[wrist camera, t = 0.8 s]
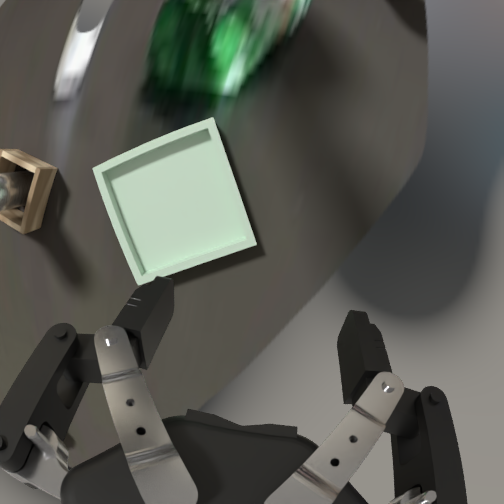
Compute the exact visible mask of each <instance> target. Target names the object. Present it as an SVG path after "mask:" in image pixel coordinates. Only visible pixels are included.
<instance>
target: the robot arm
mask: <svg viewBox="0 0 504 504" xmlns="http://www.w3.org/2000/svg"><path fill="white" fill-rule="evenodd" d="M173 312H174V281H173V279H171V278H166V277H161V276H156V277H155V279H154V280H153V282H152V283H151V285H146V284H144V285H142V286H141V287H139V288H138V289H136V290H135V292H134V293H133V294H132V296H131V298H130V299H129V300H128V302H127V304H126V305H125V306H124V307H123V309H122V310H121V312H120V313H119V315H118V316H117V318H116V319H115V321H114V322H113V324H112V325H110V326H105V327H102V328H101V329H99V330H98V331H97V332H96V334H77V333H76V330H75V328H74V327H73V326H72V325H70V324H67V323H60V324H56V325H54V326H53V327H51V328H50V329H49V330H48V332H47V333H46V334H45V336H44V337H43V339H42V340H41V342H40V343H39V344H38V346H37V347H36V349H35V350H34V352H33V353H32V355H31V356H30V358H29V359H28V361H27V362H26V364H25V366H24V367H23V369H22V370H21V372H20V373H19V375H18V377H17V378H16V380H15V382H14V383H13V385H12V386H11V388H10V390H9V392H8V393H7V395H6V397H5V398H4V400H3V402H2V404H1V405H0V467H1V468H2V469H3V470H4V471H6V472H7V473H9V474H10V475H11V476H13V477H14V478H15V479H17V480H18V481H20V482H23V483H24V484H26V485H27V486H29V487H31V488H35V489H41V490H43V491H45V492H47V493H49V494H51V495H53V496H54V497H57V498H59V499H60V500H61V503H62V504H368V503H367V502H366V500H365V499H364V498H363V497H362V496H361V495H360V494H359V493H358V491H357V490H356V489H355V488H354V487H353V486H352V485H351V483H350V482H349V479H350V478H351V477H352V475H353V474H354V473H355V472H356V470H357V469H358V468H359V466H360V465H361V463H362V462H363V460H364V459H365V458H366V456H367V455H368V453H369V452H370V450H371V449H372V447H373V446H374V445H375V443H376V441H377V440H378V438H379V437H380V435H381V434H382V432H387V433H390V434H391V444H392V455H393V470H394V488H395V489H394V490H395V498H394V499H393V500H392V501H390V503H389V504H467V496H466V488H465V481H464V474H463V469H462V462H461V457H460V452H459V447H458V442H457V438H456V433H455V429H454V424H453V420H452V417H451V412H450V409H449V405H448V401H447V398H446V396H445V394H444V393H443V392H442V391H441V390H440V389H439V388H437V387H434V386H428V387H425V388H424V389H423V390H422V391H421V393H420V392H417V391H414V390H411V389H408V388H405V387H404V384H403V382H402V380H401V379H400V378H399V377H398V376H397V375H395V374H393V373H392V370H391V366H390V363H389V359H388V355H387V352H386V349H385V345H384V342H383V338H382V335H381V332H380V331H379V329H378V328H377V327H376V325H375V324H370V322H369V319H368V315H367V313H366V312H361V311H354V310H350V311H349V312H348V315H347V317H346V319H345V322H344V324H343V326H342V329H341V331H340V334H339V336H338V341H337V349H338V356H339V364H340V373H341V382H342V391H343V400H344V404H352V406H353V407H352V409H351V410H350V411H349V412H348V413H347V415H346V416H345V417H344V418H343V420H342V421H341V422H340V423H339V424H338V426H337V427H336V428H335V429H334V431H333V432H332V433H331V434H330V435H329V436H328V438H327V439H326V440H325V441H324V442H323V443H322V444H321V445H320V446H318V445H316V444H315V443H314V442H312V441H311V440H309V439H307V438H306V437H303V436H301V435H298V434H297V427H295V426H285V425H276V424H264V425H250V426H241V425H238V424H235V423H233V422H231V421H228V420H226V419H223V418H221V417H219V416H216V415H214V414H209V413H204V412H200V411H195V410H191V409H188V410H187V413H186V416H173V417H168V418H165V419H162V420H161V418H160V416H159V414H158V411H157V409H156V407H155V404H154V402H153V400H152V397H151V395H150V392H149V390H148V387H147V385H146V382H145V380H144V377H143V374H142V372H141V370H139V368H142V369H146V370H147V369H148V367H149V365H150V363H151V361H152V358H153V356H154V354H155V352H156V350H157V348H158V346H159V343H160V341H161V339H162V337H163V335H164V333H165V331H166V329H167V327H168V325H169V323H170V320H171V318H172V316H173ZM89 383H102V384H103V387H104V391H105V395H106V398H107V402H108V405H109V409H110V412H111V415H112V418H113V422H114V425H115V428H116V431H117V434H118V437H119V440H120V442H121V443H119V444H117V445H115V446H114V447H112V448H110V449H108V450H106V451H104V452H102V453H101V454H99V455H97V456H95V457H93V458H91V459H89V460H87V461H85V462H83V463H81V464H79V465H77V466H75V467H73V468H72V469H71V470H70V471H69V470H68V467H67V461H68V450H67V447H66V446H65V444H64V443H63V440H64V438H65V436H66V433H67V431H68V429H69V426H70V424H71V422H72V420H73V417H74V415H75V413H76V411H77V408H78V406H79V404H80V402H81V400H82V398H83V396H84V393H85V391H86V389H87V387H88V385H89Z"/></svg>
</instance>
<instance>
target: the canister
mask: <svg viewBox="0 0 504 504" xmlns="http://www.w3.org/2000/svg"><path fill="white" fill-rule="evenodd" d="M33 177H34V173H33V172H31V171H21V172H9V173H0V212H1V211H5V210H9V209H12V208H16V207H20V206H24V205H26V202H27V198H28V194H29V191H30V187H31V184H32V180H33Z"/></svg>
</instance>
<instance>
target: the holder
mask: <svg viewBox="0 0 504 504" xmlns="http://www.w3.org/2000/svg"><path fill="white" fill-rule="evenodd" d="M16 164H18V165H19V166H21V167H23V168H25V169H27V170H29V171H31V172H33V173H34V177H33V180H32V184H31V187H30V191H29V194H28V198H27V202H26V206H25V210H24V212H22V211H20V210H19V209H17V208H12V209H9V210H5V211H1V212H0V220H2V221H3V222H5V223H6V224H8V225H9V226H11V227H12V228H14V229H16V230H17V231H19V232H20V233H22V234H26V233H29V232H31V231H34V230H36V229H39V228H41V224H42V220H43V216H44V212H45V208H46V205H47V201H48V198H49V194H50V191H51V188H52V184H53V181H54V178H55V175H56V172H57V169H58V168H56V167H54V166H52V165H49V164H47V163H45V162H43V161H41V160H39V159H37V158H35V157H33V156H31V155H28V154H26V153H24V152H22V151H20V150H18V149H0V173H9V172H14V171H15V167H16Z"/></svg>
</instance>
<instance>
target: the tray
mask: <svg viewBox="0 0 504 504" xmlns="http://www.w3.org/2000/svg"><path fill="white" fill-rule="evenodd" d="M93 171H94V174H95V177H96V181H97V183H98V186H99V189H100V192H101V195H102V198H103V201H104V204H105V206H106V209H107V212H108V214H109V217H110V220H111V222H112V225H113V228H114V230H115V233H116V235H117V238H118V240H119V243H120V245H121V247H122V250H123V252H124V255H125V257H126V259H127V262H128V264H129V266H130V269H131V271H132V273H133V275H134V277H135V280H136V282H137V284H138V285H141V284H144V283H147V282H150V281H153V280H154V279H155V277H156V276H161V277H164V276H167V275H170V274H173V273H176V272H179V271H182V270H185V269H187V268H190V267H193V266H196V265H199V264H202V263H205V262H208V261H211V260H214V259H217V258H219V257H222V256H225V255H228V254H231V253H234V252H237V251H240V250H243V249H246V248H249V247H252V246H255V245H257V243H256V240H255V237H254V234H253V231H252V229H251V226H250V223H249V220H248V217H247V214H246V211H245V208H244V205H243V202H242V199H241V196H240V193H239V190H238V188H237V185H236V182H235V179H234V176H233V173H232V170H231V167H230V164H229V161H228V158H227V156H226V153H225V150H224V147H223V144H222V141H221V138H220V135H219V133H218V130H217V127H216V124H215V121H214V118H213V117H212V118H210V119H207V120H204V121H201V122H198V123H195V124H193V125H190V126H187V127H185V128H182V129H179V130H177V131H174V132H172V133H169V134H167V135H164V136H162V137H159V138H157V139H155V140H152V141H150V142H148V143H145V144H143V145H141V146H138V147H136V148H134V149H132V150H130V151H127V152H125V153H123V154H121V155H119V156H117V157H115V158H113V159H110V160H108V161H106V162H104V163H102V164H100V165H98V166H96V167H94V168H93Z"/></svg>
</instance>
